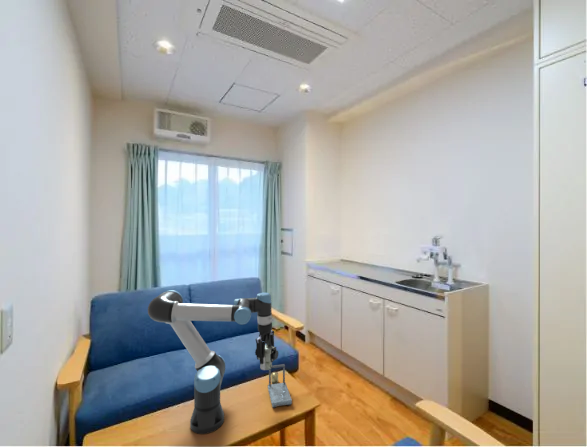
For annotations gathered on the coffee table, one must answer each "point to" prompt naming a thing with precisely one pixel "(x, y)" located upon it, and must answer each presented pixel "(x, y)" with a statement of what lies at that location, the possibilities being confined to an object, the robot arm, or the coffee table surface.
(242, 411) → the coffee table surface
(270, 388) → the dolly
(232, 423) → the coffee table surface
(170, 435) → the coffee table surface
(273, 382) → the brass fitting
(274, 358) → the pneumatic valve
